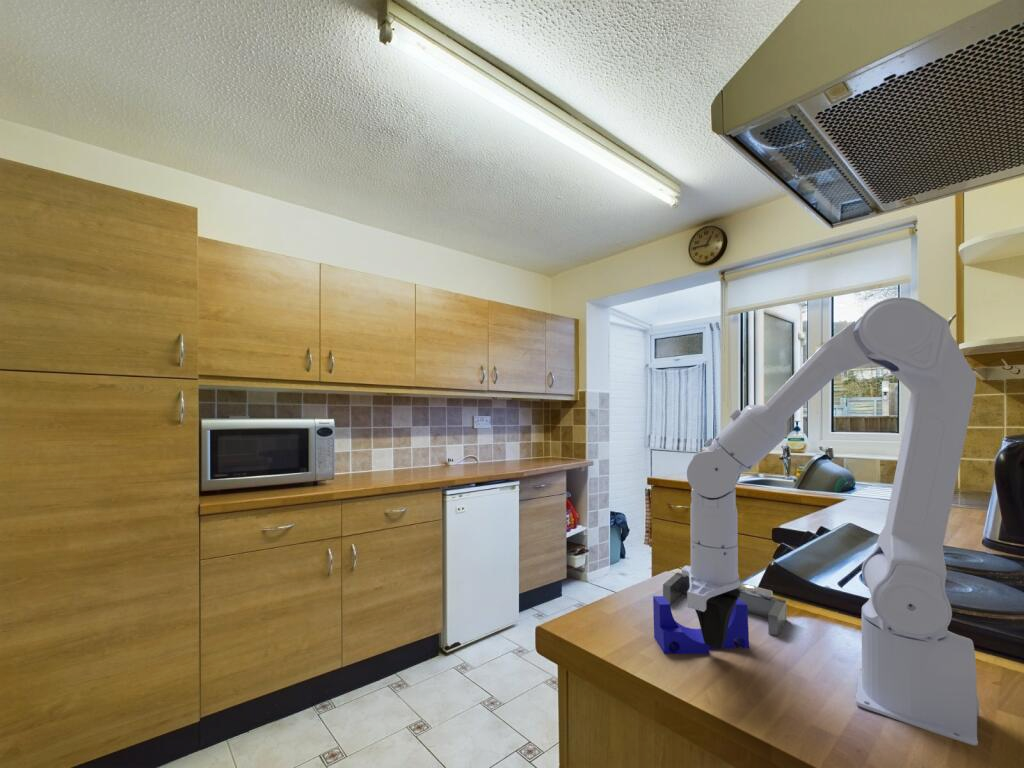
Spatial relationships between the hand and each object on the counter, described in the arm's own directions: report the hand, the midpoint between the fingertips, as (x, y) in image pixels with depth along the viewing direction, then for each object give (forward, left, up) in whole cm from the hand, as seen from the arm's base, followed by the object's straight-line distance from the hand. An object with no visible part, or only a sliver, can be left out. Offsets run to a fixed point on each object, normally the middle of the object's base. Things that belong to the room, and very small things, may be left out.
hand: (713, 644), depth 61 cm
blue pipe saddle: (+2, -2, -2) cm, 4 cm away
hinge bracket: (+3, -13, -2) cm, 13 cm away
